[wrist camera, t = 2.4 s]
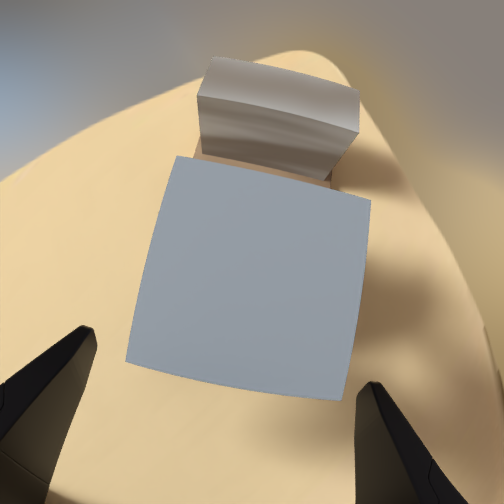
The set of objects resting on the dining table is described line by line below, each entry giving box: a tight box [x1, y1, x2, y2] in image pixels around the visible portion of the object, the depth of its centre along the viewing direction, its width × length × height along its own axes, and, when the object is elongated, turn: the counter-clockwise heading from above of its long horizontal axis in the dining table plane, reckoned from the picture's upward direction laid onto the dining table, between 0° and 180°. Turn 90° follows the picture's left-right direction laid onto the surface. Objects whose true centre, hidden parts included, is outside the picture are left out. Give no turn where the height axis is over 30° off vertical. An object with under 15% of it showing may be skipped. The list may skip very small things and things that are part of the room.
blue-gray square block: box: [125, 156, 371, 401], centre depth 12 cm, size 6×6×10 cm
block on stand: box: [193, 56, 360, 189], centre depth 16 cm, size 16×9×7 cm, turn 169°
